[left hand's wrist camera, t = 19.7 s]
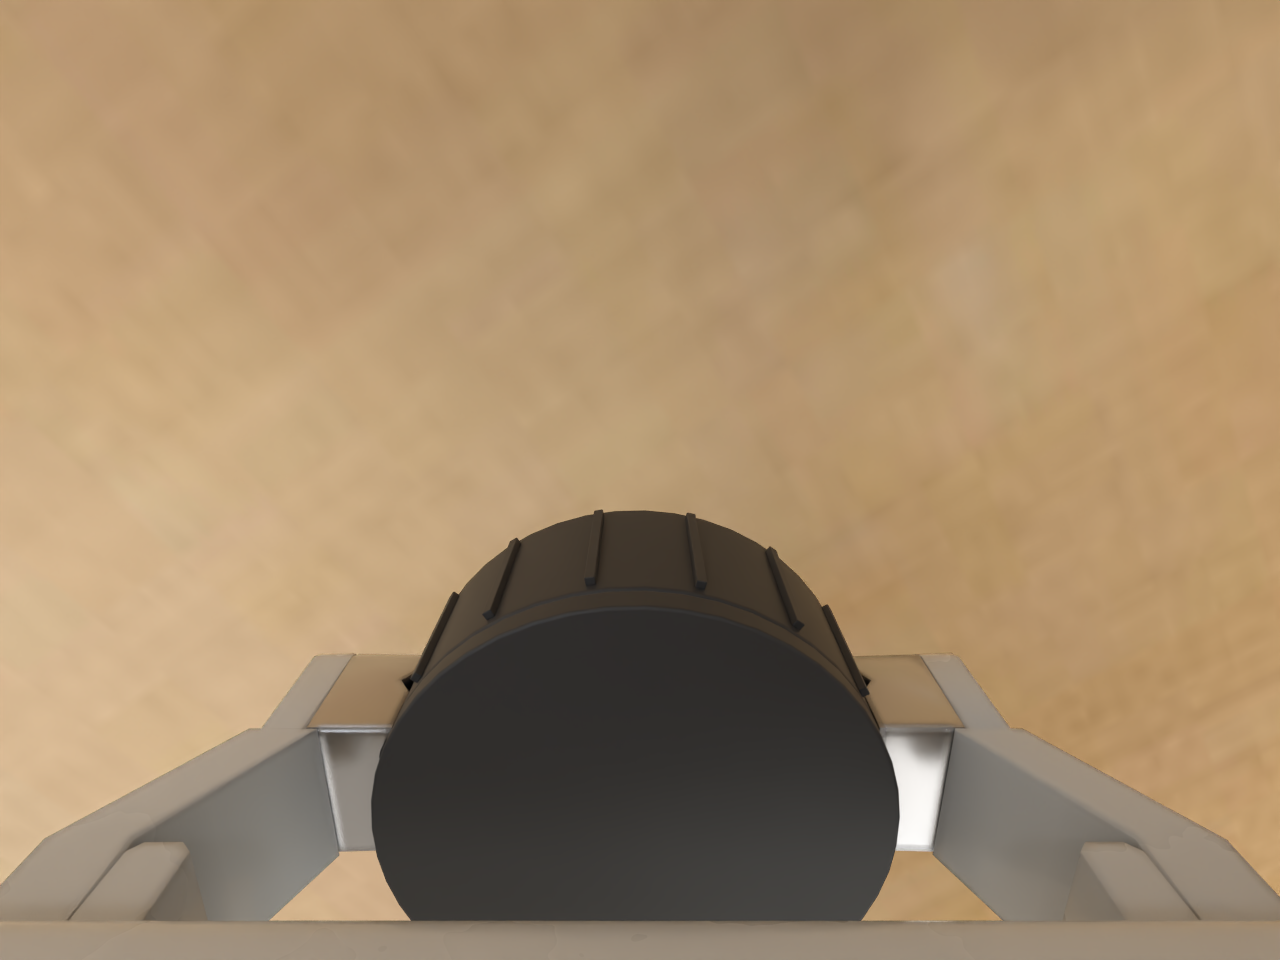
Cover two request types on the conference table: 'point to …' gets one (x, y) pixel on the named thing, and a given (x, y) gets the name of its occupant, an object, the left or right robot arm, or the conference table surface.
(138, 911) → the left robot arm
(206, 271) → the conference table surface
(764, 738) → the lid
